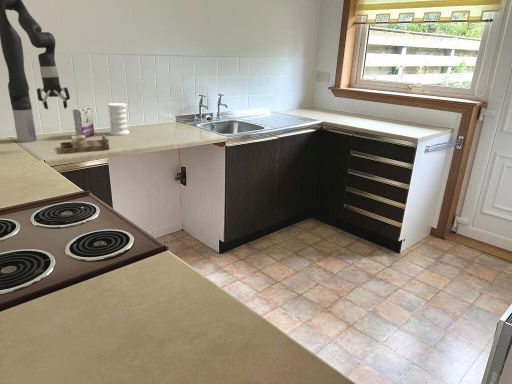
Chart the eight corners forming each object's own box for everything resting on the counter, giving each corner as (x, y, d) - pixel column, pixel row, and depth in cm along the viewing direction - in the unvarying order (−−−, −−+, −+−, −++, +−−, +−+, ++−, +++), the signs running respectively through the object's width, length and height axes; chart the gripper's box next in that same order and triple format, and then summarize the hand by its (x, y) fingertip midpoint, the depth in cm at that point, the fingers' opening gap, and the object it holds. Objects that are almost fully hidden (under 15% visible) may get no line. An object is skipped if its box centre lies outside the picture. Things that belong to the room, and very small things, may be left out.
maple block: (73, 146, 199) (72, 138, 198) (72, 143, 204) (71, 135, 203) (86, 145, 202) (85, 137, 201) (84, 142, 207) (83, 135, 205)
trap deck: (63, 153, 194) (61, 142, 192) (60, 147, 205) (59, 137, 203) (109, 149, 205) (108, 139, 203) (104, 143, 216) (103, 134, 214)
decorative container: (121, 130, 249) (119, 102, 243) (133, 133, 243) (131, 104, 237) (105, 133, 240) (102, 103, 234) (117, 136, 234) (114, 106, 228)
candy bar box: (87, 134, 236) (84, 107, 231) (94, 135, 235) (91, 107, 230) (75, 138, 226) (72, 109, 220) (83, 138, 225) (80, 110, 219)
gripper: (32, 77, 187) (39, 110, 193) (64, 76, 190) (70, 109, 197) (35, 75, 194) (42, 108, 200) (66, 74, 197) (72, 106, 203)
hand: (56, 108), depth 198 cm, fingers open, 8 cm apart
